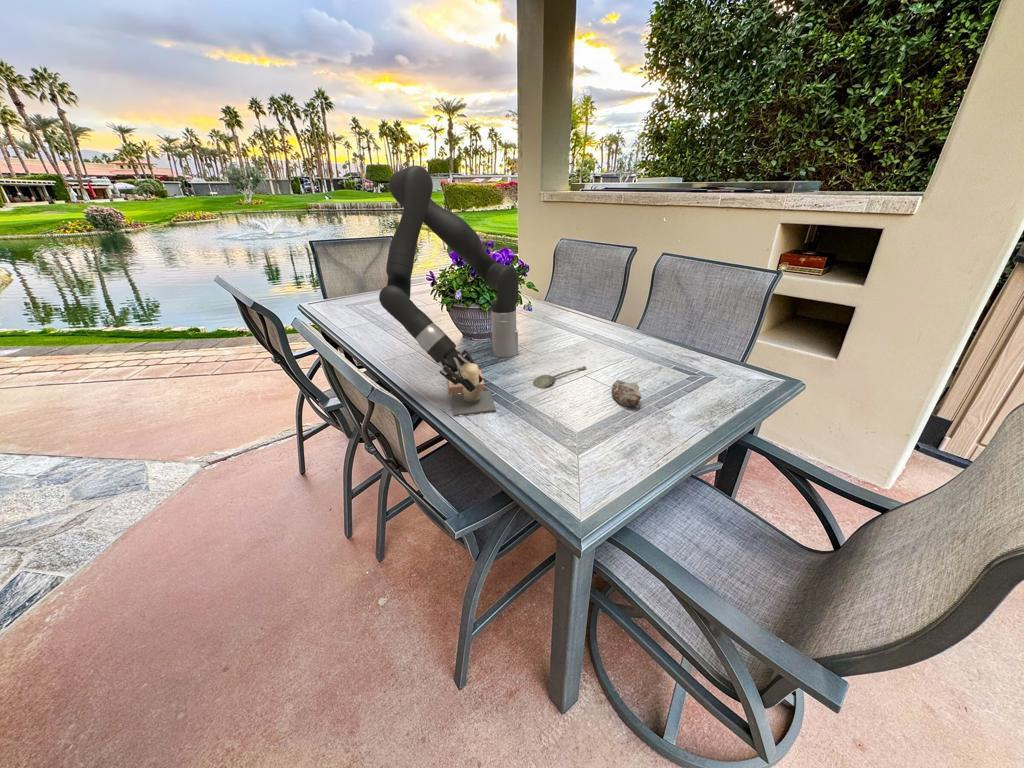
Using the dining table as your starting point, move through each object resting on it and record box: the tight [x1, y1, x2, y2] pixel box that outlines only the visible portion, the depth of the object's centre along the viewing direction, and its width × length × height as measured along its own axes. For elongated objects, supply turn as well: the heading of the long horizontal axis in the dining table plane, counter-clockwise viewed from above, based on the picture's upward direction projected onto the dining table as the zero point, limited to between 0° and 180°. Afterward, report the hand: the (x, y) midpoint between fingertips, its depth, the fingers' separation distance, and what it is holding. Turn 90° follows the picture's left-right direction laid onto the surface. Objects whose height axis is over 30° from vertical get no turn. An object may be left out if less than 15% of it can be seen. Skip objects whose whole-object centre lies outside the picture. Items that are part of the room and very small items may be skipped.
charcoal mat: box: [451, 390, 497, 417], centre depth 117 cm, size 12×12×1 cm
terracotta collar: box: [447, 368, 486, 395], centre depth 128 cm, size 11×11×2 cm
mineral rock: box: [611, 379, 642, 409], centre depth 118 cm, size 15×8×4 cm, turn 169°
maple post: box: [461, 363, 480, 401], centre depth 114 cm, size 5×5×10 cm
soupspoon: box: [532, 365, 587, 390], centre depth 131 cm, size 22×3×7 cm
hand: (477, 385), depth 114 cm, fingers closed on maple post, 4 cm apart
